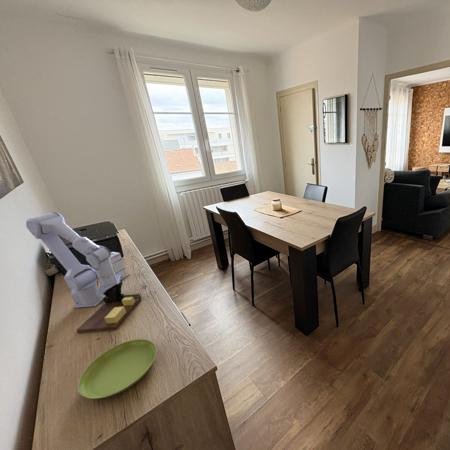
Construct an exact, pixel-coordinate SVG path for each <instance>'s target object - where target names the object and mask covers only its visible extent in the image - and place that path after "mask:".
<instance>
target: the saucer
mask: <svg viewBox="0 0 450 450" xmlns="http://www.w3.org/2000/svg"><path fill="white" fill-rule="evenodd" d="M156 356H157V346H156V343H154V342H153V341H152V340H150V339H147V338H146V339H145V338H137V339H131V340H128V341H124V342H121V343H119V344H117V345H115V346H113V347H111V348H109V349H108V350H106V351H104V352H103V353H101V354H100V355H99V356H98V357H96V358H95V359H94V360H93V361H92V362H91V363H90V364H89V365H88V366H87V367H86V368H85V370H84V371H83V373H82V374H81V375H80V377H79V380H78V384H77V391H78V394H80V396H82V398H86V399H90V400H91V399H92V400H101V399H107V398H110V397H113V396H116V395H119V394H121V393H123V392H125V391H127V390H128V389H130V388H131V387H133V386H134V385H135V384H137V383H138V382H139V381H140V380H141V379H142V378H144V376H145V375H146V374H147V373H148V371H149V370H150V369H151V367H152V365H153V364H154V362H155V359H156Z"/></svg>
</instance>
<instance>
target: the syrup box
mask: <svg viewBox="0 0 450 450" xmlns="http://www.w3.org/2000/svg"><path fill="white" fill-rule="evenodd" d="M110 253H111V256H110V258H109V260H110V263H111V265H112V267H113V270H114V272H115V275H117V274H121V273H122V274H123V278H120V280H119V281H122V280H124V279H125V278H127V277H128V276H129V272H128V270H127V268H126V265H125V262H124V261H123V258H122V255H121V253H120V252H116V251H110Z"/></svg>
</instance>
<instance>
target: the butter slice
mask: <svg viewBox="0 0 450 450" xmlns="http://www.w3.org/2000/svg"><path fill="white" fill-rule="evenodd" d="M122 303H123V305H124V306H127V305H133V304H134V303H135V300H134V298H133V297H125V298H123V299H122Z"/></svg>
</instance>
